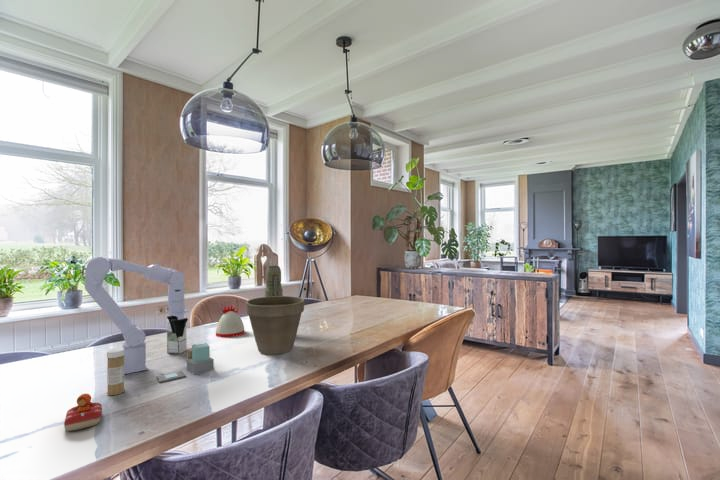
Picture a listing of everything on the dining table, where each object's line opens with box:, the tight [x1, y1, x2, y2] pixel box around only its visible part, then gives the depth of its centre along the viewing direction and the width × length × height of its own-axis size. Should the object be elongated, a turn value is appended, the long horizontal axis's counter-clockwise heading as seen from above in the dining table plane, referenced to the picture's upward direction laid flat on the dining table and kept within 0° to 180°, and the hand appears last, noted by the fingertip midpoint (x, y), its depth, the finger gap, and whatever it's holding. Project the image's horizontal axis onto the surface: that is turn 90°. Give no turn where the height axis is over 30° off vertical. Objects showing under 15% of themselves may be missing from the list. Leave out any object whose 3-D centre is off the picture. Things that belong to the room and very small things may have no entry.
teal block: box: [191, 342, 211, 362], centre depth 130 cm, size 5×5×5 cm
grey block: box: [186, 357, 215, 375], centre depth 130 cm, size 7×7×4 cm
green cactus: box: [264, 265, 284, 297], centre depth 178 cm, size 9×12×35 cm
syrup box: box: [166, 316, 188, 354], centre depth 153 cm, size 6×6×14 cm
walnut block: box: [186, 347, 192, 360], centre depth 139 cm, size 5×5×5 cm
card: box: [156, 370, 187, 384], centre depth 122 cm, size 8×6×1 cm
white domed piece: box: [215, 304, 245, 338], centre depth 182 cm, size 14×14×15 cm
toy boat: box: [63, 393, 103, 432], centre depth 92 cm, size 8×12×8 cm, turn 36°
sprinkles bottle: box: [106, 347, 125, 396], centre depth 110 cm, size 5×5×14 cm
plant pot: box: [245, 295, 305, 356], centre depth 153 cm, size 25×25×22 cm
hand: (177, 334), depth 140 cm, fingers open, 7 cm apart
